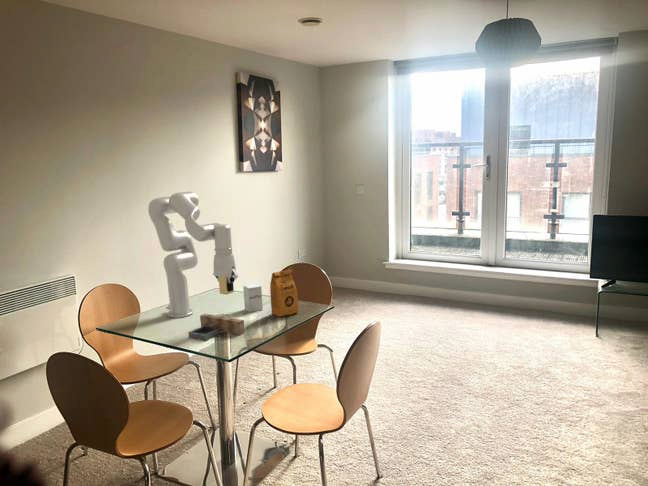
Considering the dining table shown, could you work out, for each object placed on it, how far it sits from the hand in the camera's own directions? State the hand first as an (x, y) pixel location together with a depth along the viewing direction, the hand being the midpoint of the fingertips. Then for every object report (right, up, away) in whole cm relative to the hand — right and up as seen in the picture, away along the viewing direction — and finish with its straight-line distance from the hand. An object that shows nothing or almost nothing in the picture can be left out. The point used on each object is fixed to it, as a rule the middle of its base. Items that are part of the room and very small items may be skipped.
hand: (226, 289), depth 245 cm
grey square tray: (-8, -19, -11) cm, 23 cm away
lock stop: (0, -1, 0) cm, 1 cm away
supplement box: (+9, -13, +27) cm, 31 cm away
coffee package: (+26, -14, +16) cm, 34 cm away
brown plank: (-1, -18, -4) cm, 19 cm away
